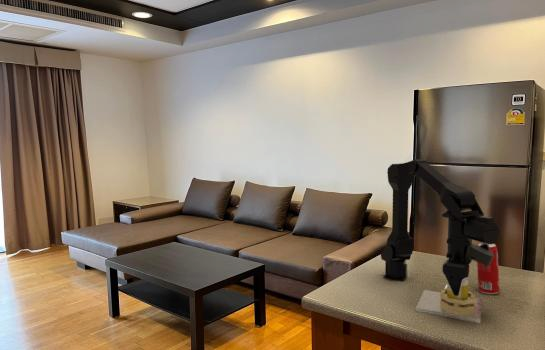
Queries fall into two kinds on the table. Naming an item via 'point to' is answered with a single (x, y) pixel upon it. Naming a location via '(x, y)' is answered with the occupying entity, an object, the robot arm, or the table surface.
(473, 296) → the plate
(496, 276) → the beverage can
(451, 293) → the supplement bottle
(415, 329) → the table surface
